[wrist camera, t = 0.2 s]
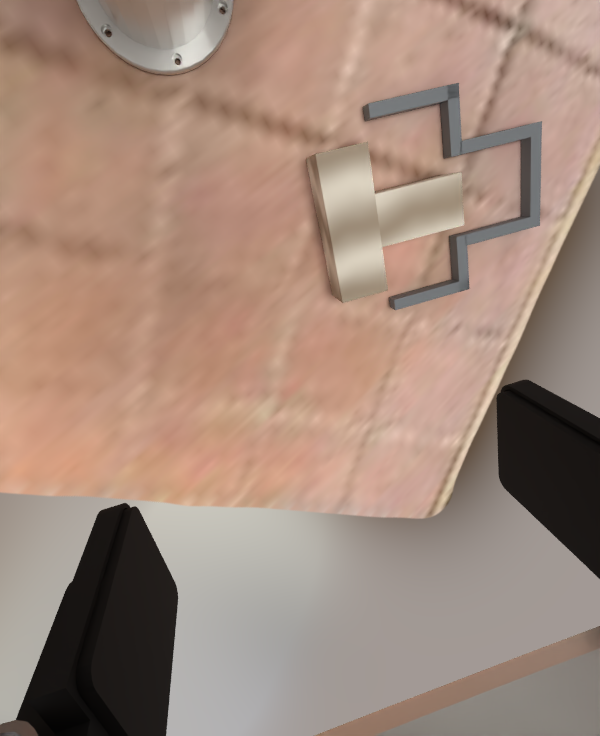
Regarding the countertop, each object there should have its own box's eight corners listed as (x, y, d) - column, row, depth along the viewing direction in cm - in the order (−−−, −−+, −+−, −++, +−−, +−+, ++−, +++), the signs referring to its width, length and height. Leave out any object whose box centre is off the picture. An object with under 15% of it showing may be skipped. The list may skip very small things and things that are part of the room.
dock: (362, 107, 39) (368, 103, 38) (531, 68, 41) (542, 63, 40) (390, 307, 47) (395, 310, 46) (529, 267, 49) (538, 269, 48)
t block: (305, 158, 40) (315, 154, 36) (436, 127, 41) (458, 119, 38) (332, 295, 46) (342, 303, 42) (446, 263, 47) (466, 268, 43)
